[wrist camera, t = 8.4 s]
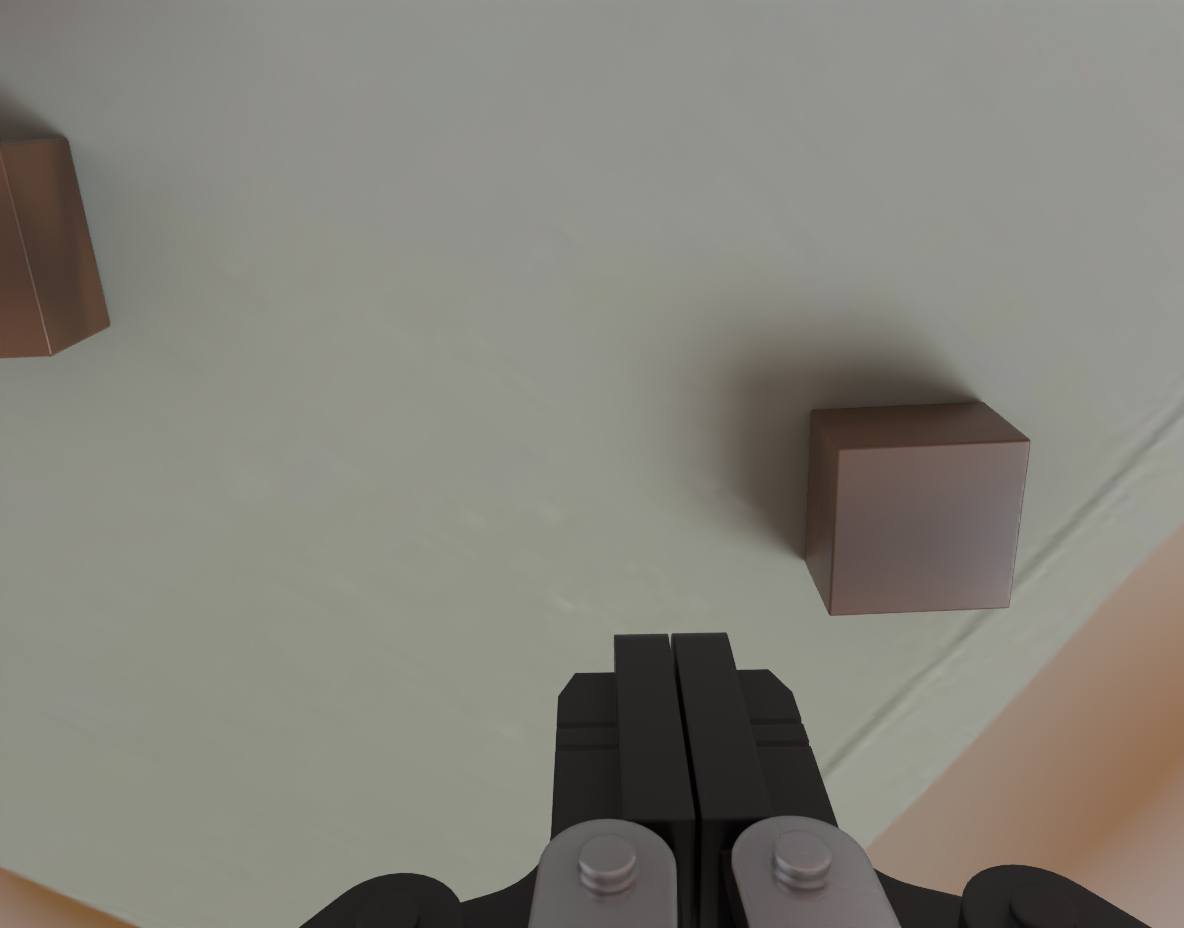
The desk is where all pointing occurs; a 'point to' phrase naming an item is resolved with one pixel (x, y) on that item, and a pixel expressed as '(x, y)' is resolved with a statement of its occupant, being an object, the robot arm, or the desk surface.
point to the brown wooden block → (44, 252)
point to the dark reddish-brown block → (914, 507)
